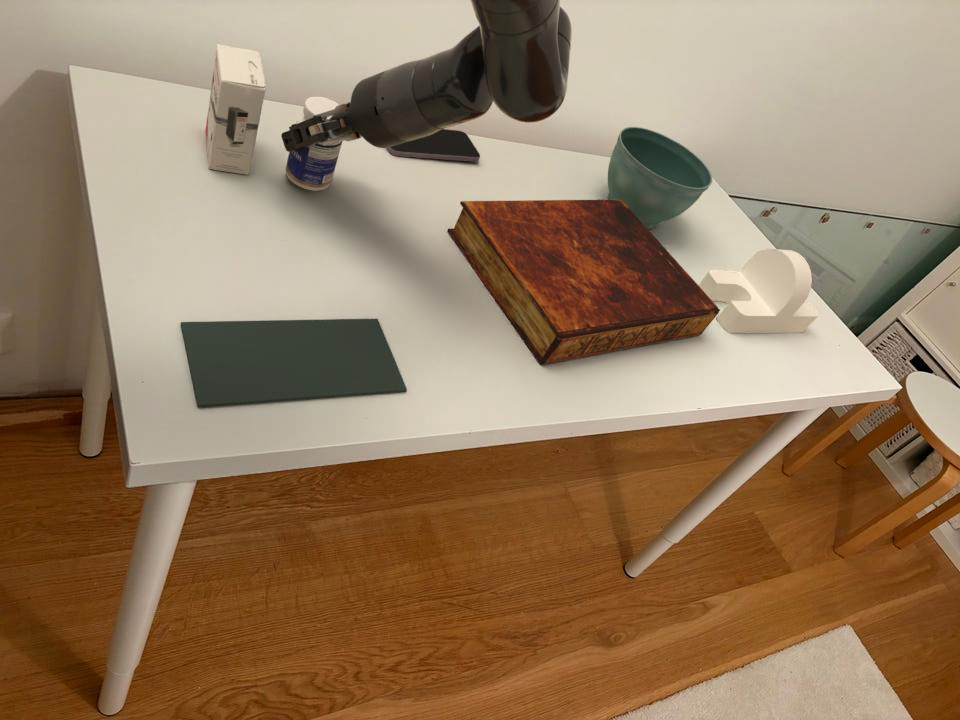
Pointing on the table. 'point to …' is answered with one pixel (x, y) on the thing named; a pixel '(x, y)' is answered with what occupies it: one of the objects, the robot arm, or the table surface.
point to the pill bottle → (314, 152)
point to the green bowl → (655, 175)
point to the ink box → (234, 109)
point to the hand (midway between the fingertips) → (306, 137)
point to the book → (579, 276)
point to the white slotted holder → (764, 294)
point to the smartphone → (439, 147)
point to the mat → (288, 360)
